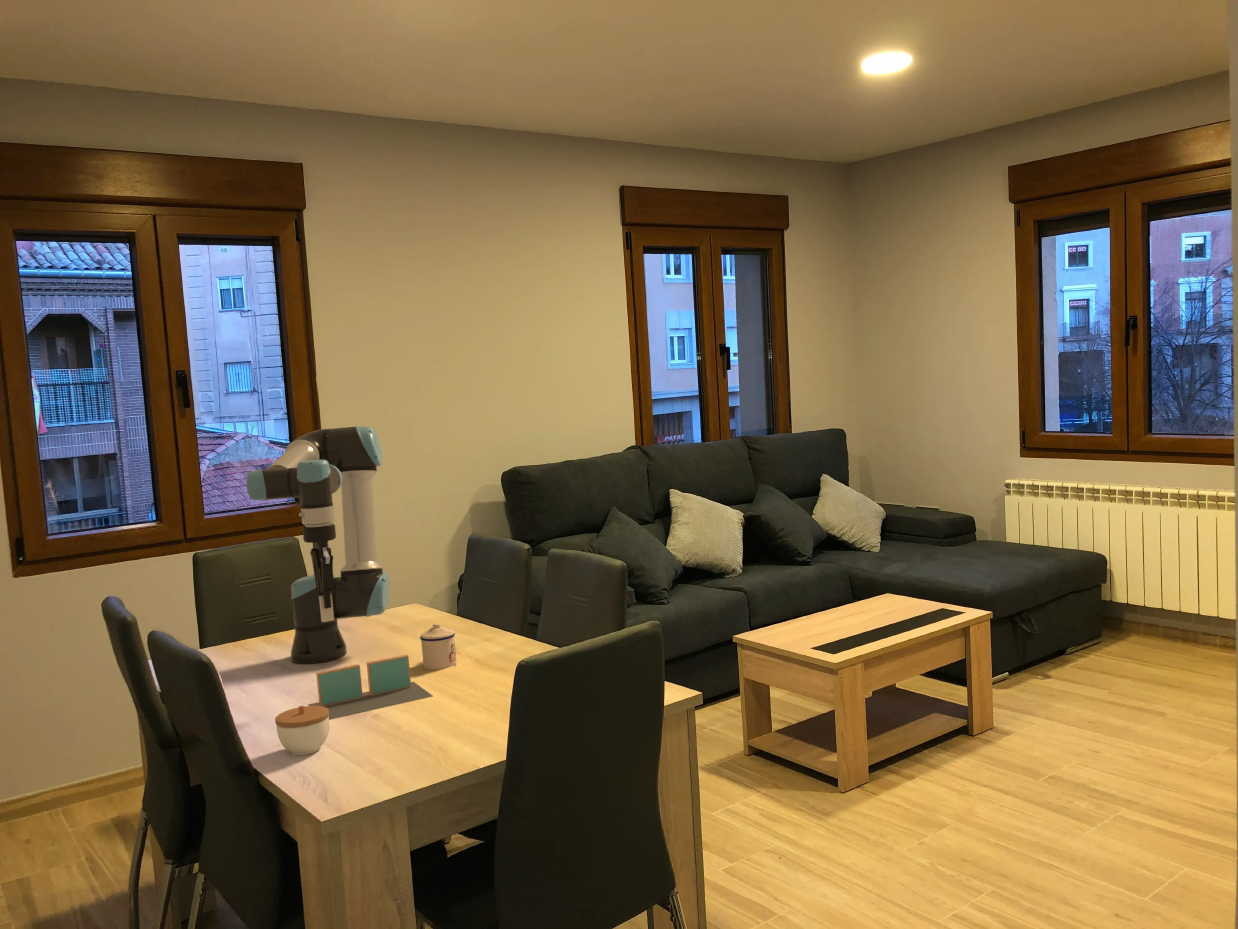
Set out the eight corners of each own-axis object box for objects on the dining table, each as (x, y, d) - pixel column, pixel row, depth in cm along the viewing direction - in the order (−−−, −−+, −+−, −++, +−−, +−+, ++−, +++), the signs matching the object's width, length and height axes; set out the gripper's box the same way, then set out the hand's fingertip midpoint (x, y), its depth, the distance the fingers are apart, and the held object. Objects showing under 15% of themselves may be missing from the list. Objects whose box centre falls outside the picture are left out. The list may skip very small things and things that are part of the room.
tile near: (319, 705, 236) (316, 672, 236) (361, 696, 241) (358, 664, 241) (320, 707, 235) (317, 674, 234) (363, 698, 240) (360, 665, 239)
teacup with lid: (457, 669, 261) (454, 625, 260) (422, 673, 259) (418, 629, 258) (457, 657, 273) (453, 615, 272) (423, 661, 271) (419, 619, 270)
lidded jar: (285, 743, 214) (281, 700, 213) (336, 738, 215) (332, 696, 214) (272, 762, 203) (268, 717, 202) (326, 757, 204) (322, 712, 203)
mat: (308, 706, 238) (308, 704, 238) (413, 684, 251) (413, 681, 250) (323, 723, 225) (322, 721, 225) (433, 698, 237) (433, 696, 237)
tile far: (369, 694, 242) (366, 662, 242) (409, 686, 247) (406, 654, 246) (371, 696, 241) (368, 663, 240) (411, 687, 246) (408, 655, 245)
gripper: (296, 523, 244) (306, 618, 246) (308, 529, 232) (318, 628, 234) (327, 520, 247) (336, 613, 249) (341, 524, 236) (350, 622, 238)
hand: (327, 620), depth 242 cm, fingers closed
